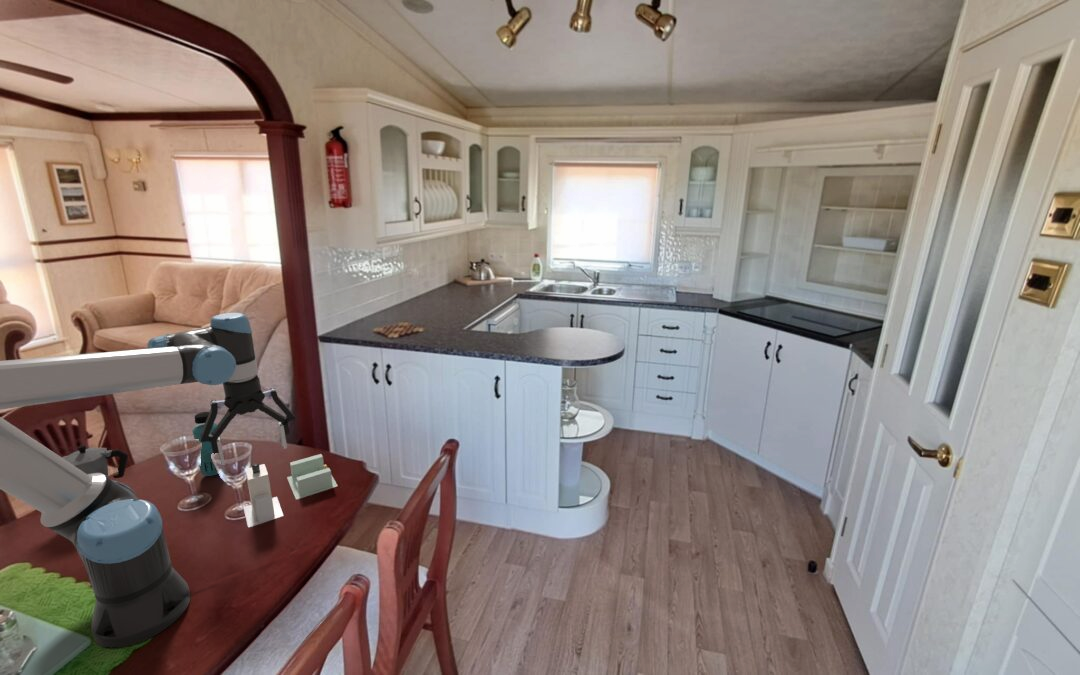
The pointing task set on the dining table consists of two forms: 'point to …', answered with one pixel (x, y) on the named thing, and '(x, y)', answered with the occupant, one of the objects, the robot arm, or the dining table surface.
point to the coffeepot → (96, 460)
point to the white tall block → (258, 484)
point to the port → (310, 476)
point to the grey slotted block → (263, 510)
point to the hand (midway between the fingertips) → (254, 454)
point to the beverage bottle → (205, 445)
